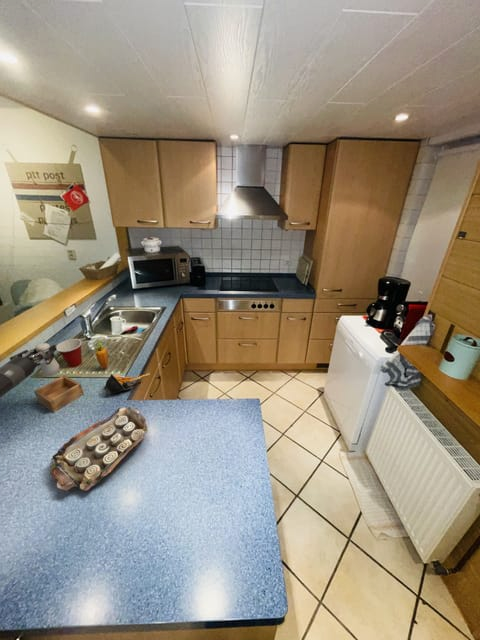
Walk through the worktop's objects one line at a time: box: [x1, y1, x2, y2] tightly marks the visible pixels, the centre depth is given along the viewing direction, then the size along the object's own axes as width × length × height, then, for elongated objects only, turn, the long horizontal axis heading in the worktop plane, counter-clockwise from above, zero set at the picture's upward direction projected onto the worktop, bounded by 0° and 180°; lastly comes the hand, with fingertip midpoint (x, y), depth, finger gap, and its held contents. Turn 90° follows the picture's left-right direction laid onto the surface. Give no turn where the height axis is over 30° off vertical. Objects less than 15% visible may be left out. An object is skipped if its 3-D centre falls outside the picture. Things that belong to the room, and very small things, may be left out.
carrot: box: [93, 341, 109, 370], centre depth 121 cm, size 5×5×15 cm
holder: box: [33, 375, 85, 413], centre depth 105 cm, size 12×12×6 cm
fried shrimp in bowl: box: [104, 372, 151, 395], centre depth 111 cm, size 9×11×18 cm
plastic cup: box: [56, 338, 83, 368], centre depth 125 cm, size 11×11×12 cm
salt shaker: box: [35, 342, 60, 377], centre depth 97 cm, size 6×6×13 cm
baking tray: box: [49, 406, 149, 492], centre depth 83 cm, size 30×22×5 cm
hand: (48, 346), depth 98 cm, fingers closed on salt shaker, 4 cm apart
